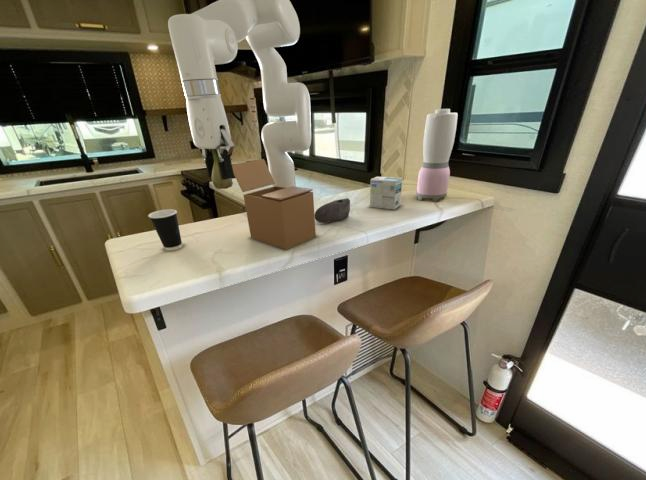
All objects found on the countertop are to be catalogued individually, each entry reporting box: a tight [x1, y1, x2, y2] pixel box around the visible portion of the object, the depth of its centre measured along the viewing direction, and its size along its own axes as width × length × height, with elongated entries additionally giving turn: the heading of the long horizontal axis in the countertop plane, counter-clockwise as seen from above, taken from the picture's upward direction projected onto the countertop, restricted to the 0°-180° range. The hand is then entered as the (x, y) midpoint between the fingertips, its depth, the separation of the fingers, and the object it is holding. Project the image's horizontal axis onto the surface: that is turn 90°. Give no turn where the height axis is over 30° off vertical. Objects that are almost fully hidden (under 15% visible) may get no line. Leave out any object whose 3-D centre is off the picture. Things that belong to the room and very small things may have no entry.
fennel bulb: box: [211, 149, 234, 190], centre depth 76 cm, size 6×5×12 cm
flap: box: [232, 158, 275, 193], centre depth 97 cm, size 8×13×1 cm
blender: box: [415, 108, 459, 202], centre depth 124 cm, size 16×12×32 cm
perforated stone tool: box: [314, 197, 351, 224], centre depth 110 cm, size 15×5×7 cm, turn 116°
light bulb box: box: [369, 176, 403, 210], centre depth 121 cm, size 11×7×11 cm, turn 58°
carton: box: [242, 186, 317, 251], centre depth 96 cm, size 17×13×15 cm
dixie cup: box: [147, 208, 183, 251], centre depth 95 cm, size 8×8×11 cm
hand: (221, 176), depth 78 cm, fingers closed on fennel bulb, 5 cm apart
